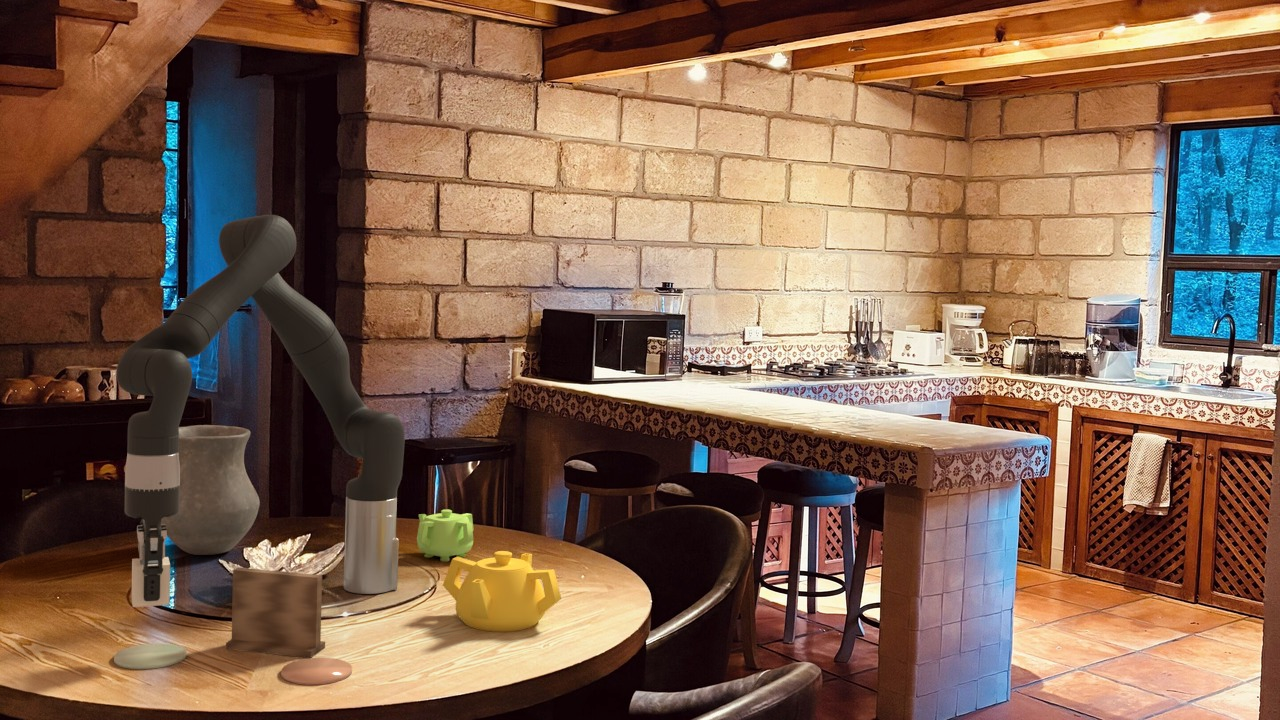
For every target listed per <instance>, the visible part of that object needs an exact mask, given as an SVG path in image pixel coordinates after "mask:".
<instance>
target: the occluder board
mask: <svg viewBox="0 0 1280 720" xmlns="http://www.w3.org/2000/svg"><path fill="white" fill-rule="evenodd" d="M322 593H323V575H321V574H315V573H314V574H311V573H300V572H289V571H280V570H279V571H278V570H269V569H258V568H247V567H237V568H234V569H233V570H232V602H231V603H232V605H231V606H232V607H231V609H232V610H231V639H230V640H228V641H226V642H225V650H232V651H242V652H244V651H245V652H251V653H261V654H272V655H279V656H288V657H289V656H291V657H298V658H306V659H309V658H314V656H315V655H317V654H319V653H320V652H321V651H323V650H324V649H326V641H325V640H322V639H321V638H322V636H321V634H322V627H321V626H322V600H323V599H322V598H323V594H322Z"/></svg>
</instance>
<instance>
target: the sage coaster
mask: <svg viewBox="0 0 1280 720" xmlns="http://www.w3.org/2000/svg"><path fill="white" fill-rule="evenodd" d="M186 657H187V650H186V648H185V647H183V646H181V645H178V644H173V643H159V642H157V643H145V644H139V645H138V644H137V645H134V646H133V645H132V646H130V647H127V648H124V649H120V650H119V651H117V652H116V653H115V654H114V656H113V662H114V664H115V665H116V666H118V667H120V668H124V669H130V670H151V669H152V670H153V669H154V670H155V669H161V668H165V667H171V666H173V665H176V664H178V663H180V662H182V661H184V660H185V659H186Z"/></svg>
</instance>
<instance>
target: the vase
mask: <svg viewBox="0 0 1280 720" xmlns="http://www.w3.org/2000/svg"><path fill="white" fill-rule="evenodd" d="M250 437H251V431H250V430H249V429H247V428H244V427H240V426H239V427H238V426H234V425H233V426H230V425H229V426H228V425H215V424H214V425H213V424H212V425H211V424H203V425H202V424H197V425H188V426H179V452H178V453H179V463H180V496H179V512H178V513H177V514H176V515H173V516H170V517H163V518H162V520H161V525H163V524H165V525H166V528H167V538H168V539H169V540H170V541H171V542H172V543H173V544H175V545H176V547H178V548H179V549H181V550H182V551H183V552H186V553H188V554H190V555H195V556H196V555H197V556H211V555H214V556H215V555H220V554H223V553H227V552H229V551H231V550H232V549H234V547H235V546H236V545H237V544H239V542H240V541H242V539H243V538H245V536H246V535H247V533H248V532H249V531H250V529H251V528H252V526H253V525H254V523H255V520H256V518H257V516H258V513H259V510H260V497H259V495H258V493H257V491H256V489H255V487H254V485H253V484H252V482H251V480H250V478H249V476H248V474H247V469H246V466H245V450H246V448H247V447H246V446H247V443H248V441H249V438H250Z"/></svg>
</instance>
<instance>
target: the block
mask: <svg viewBox="0 0 1280 720" xmlns="http://www.w3.org/2000/svg"><path fill="white" fill-rule="evenodd" d="M131 560H132V561H131V603H132V608H140V607H154V606H155V607H156V606H167V605H170V595H171V592H170V591H171V589H170V588H171V585H170V584H171V563H170V559H169V556H165V557H164V559H163V560H162V568H163V572H162V574H161V575H160V599H159V600H157V601H145V600H144V576H143V574H142V571H143V561H142V560H140V557H139V558H132V559H131ZM148 566H158V561H157V560H154V561H148Z"/></svg>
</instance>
